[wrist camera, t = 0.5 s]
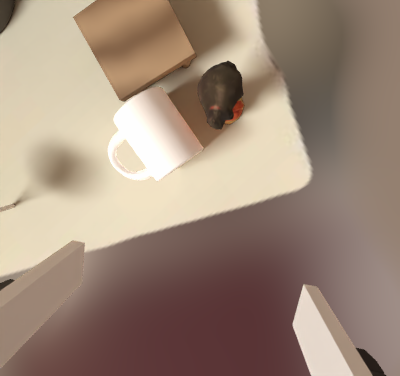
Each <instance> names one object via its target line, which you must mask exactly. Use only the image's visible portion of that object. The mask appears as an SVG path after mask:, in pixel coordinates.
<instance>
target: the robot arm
mask: <svg viewBox="0 0 400 376" xmlns="http://www.w3.org/2000/svg"><path fill="white" fill-rule="evenodd" d="M14 1H15V0H0V32H1V31H2V30H3V29H4V28H5V26H6V25H7V23H8V21H9V19H10V17H11V14H12V11H13V7H14ZM84 247H85V243H83V242H78V241H71V242H70V243H68V244H67V245H65V246H64V247H63V248H61V249H60V250H58V251H57V252H55V253H54V254H52V255H51V256H50V257H48V258H47V259H45V260H44V261H42V262H41V263H39V264H38V265H37V266H35V267H34V268H32V269H31V270H29V271H28V272H27V273H25V274H24V275H22V276H21V277H19V278H18V279H16V280H11V279H10V280H7V281H4V282H2V283H0V369H1V367H2V366H3V365H4V364H5V363H6V362H7V361H8V360H9V359H10V358H11V357H12V356H13V355H14V354H15V353H16V352H17V351H18V350H19V349H20V348H21V346H23V345H24V343H25V342H26V341H27V340H28V339H29V338H30V337H31V336H32V335H33V334H34V333H35V332H36V331H37V330H38V329H39V328H40V327H41V326H42V325H43V323H45V322H46V320H47V319H48V318H49V317H50V316H51V315H52V314H53V313H54V312H55V311H56V310H57V309H58V308H59V307H60V306H61V305H62V304H63V303H64V302H65V301H66V300H67V299H68V298H69V297H70V295H71V294H72V293H73V292H74V291H75V290H76V289H77V288H78V287H79V286H80V285H81V284H82V279H83V263H84ZM293 328H294V330H295V333H296V336H297V338H298V341H299V344H300V346H301V349H302V352H303V354H304V357H305V360H306V363H307V365H308V368H309V371H310V373H311V376H386V375H384V372H383V370H382V369H381V367H380V366H379V364H378V363H377V361H376V360H375V359H374V358H373V357H372V356H371V355H369V354H368V353H367V352H366V351H365V350H364V349H359V348H355V347H354V345H353V343H352V342H351V340H350V339H349V337H348V335H347V334H346V332H345V331H344V329H343V328H342V326H341V324H340V323H339V321H338V319H337V318H336V316H335V315H334V313H333V312H332V310H331V308H330V307H329V305H328V303H327V302H326V300H325V299H324V297H323V295H322V294H321V293H320V291H319V289H318V287H315V286H310V285H303V289H302V292H301V296H300V300H299V303H298V307H297V311H296V314H295V318H294V321H293Z"/></svg>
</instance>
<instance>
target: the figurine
mask: <svg viewBox="0 0 400 376" xmlns="http://www.w3.org/2000/svg"><path fill="white" fill-rule="evenodd" d="M198 96H199V99H200V102H201V104H202V106H203V108H204V110H205V112H206V115H207V123H208V124H209V125H210V126H211V127H212V128H214V129H222V127H223V124H224V123H225V124H232V123H233V122H235V121H236V120H237V119H239V117H240V115H241V114H242V111H243V108H244V103H243V100H242V96H243V89H242V77H241V74H240V72H239V71H238V70H237V68H236V66H235V64H233V63H231V62H229V61H227V62H223V63H220V64H218V65H215V66H213V67H211V68H210V69H209V70H207V71H206V73H205V74H204V75H203V76H202V78H201V80H200V82H199V84H198Z"/></svg>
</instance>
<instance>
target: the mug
mask: <svg viewBox="0 0 400 376" xmlns="http://www.w3.org/2000/svg"><path fill="white" fill-rule="evenodd" d="M114 123H115V124H116V126H117V127H118V129H119V130H118V131H117V132H116V133H115V134H114V136H113V137H112V138H111V140H110V142H109V145H108V156H109V159H110V161H111V163H112V165H113V166H114V167H115V169H116V170H117V171H119V172H120V173H121V174H122V175H124V176H126V177H128V178H130V179H133V180H146V179H149V178H151V177H154V178H155V180H156V181H160V180H161V179H163V178H164V177H166V176H167V175H169V174H170V173H172V172H173V171H174V170H176V169H177V168H179V167H180V166H182V165H183V164H184V163H186V162H187V161H189V160H190V159H191V158H193V157H194V156H196V155H197V154H198V153H200V152H201V151H202V150H203V146H202V145H201V144H200V142H199V141H198V139H197V138H196V136H195V135H194V133H193V132H192V130H191V129H190V128H189V126H188V125H187V123H186V122H185V120H184V119H183V117H182V116H181V114H180V113H179V111H178V110H177V109H176V107H175V106H174V104H173V103H172V101H171V100H170V98H169V97H168V95H167V94H166V93H165V91H164V90H163V88H161V87H152V88H149V89H147V90H144V91H142V92H140V93H139V94H137V95H135V96H134V97H132V98H131V99H130V100H128V101H127V102H126V103H125V104H124V105H123V106H122V107H121V108H120V109H119V110H118V111H117V113H116V114H115V116H114ZM125 139H126V140H127V141H128V142H129V144H130V145H131V146H132V148H133V149H134V151H135V152H136V153H137V155H138V156H139V158H140V159H141V160H142V162H143V163H144V164H145V166H146V167H147V168H145V169H143V170H141V171H136V172H133V171H129V170H128V169H126V168H125V167H124V166H123V165H122V164H121V163H120V161H119V160H118V158H117V149H118V147H119V146H120V145H121V143H122V142H123V141H124V140H125Z"/></svg>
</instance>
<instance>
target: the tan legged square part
mask: <svg viewBox="0 0 400 376" xmlns="http://www.w3.org/2000/svg"><path fill="white" fill-rule="evenodd" d="M73 18H74V20H75V21H76V23H77V25H78V27H79V29H80V30H81V32H82V34H83V36H84V37H85V39H86V41H87V43H88V45H89V46H90V48H91V50H92V52H93V53H94V55H95V57H96V59H97V61H98V62H99V64H100V66H101V68H102V69H103V71H104V73H105V75H106V77H107V78H108V80H109V82H110V84H111V85H112V87H113V89H114V91H115V93H116V94H117V96H118V98H119V100H121V101H126V100H128V99H129V98H131V97H132V96H134V95H137V94H139V93H140V92H142V91H144V89H145V88H147V87H149V86H150V85H152V84H153V83H155V82H157V81H158V80H160V79H161V78H163V77H165V76H166V75H168V74H169V73H171V72H173V71H174V70H176V69H178V68H179V67H181V66H182V67H184V68H187V67H189V66H190V60H192V59H194V58H195V57H196V55H195V52H194V50H193V48H192V46H191V44H190V42H189V40H188V38H187V36H186V34H185V32H184V30H183V28H182V26H181V24H180V23H179V21H178V19H177V17H176V15H175V13H174V11H173V9H172V7H171V5H170V3H169V1H168V0H96V1H95V2H93V3H92V4H91V5H89V6H88V7H86V8H85V9H84V10H82V11H81V12H80V13H78V14H77V15H75V16H74V17H73Z"/></svg>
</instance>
